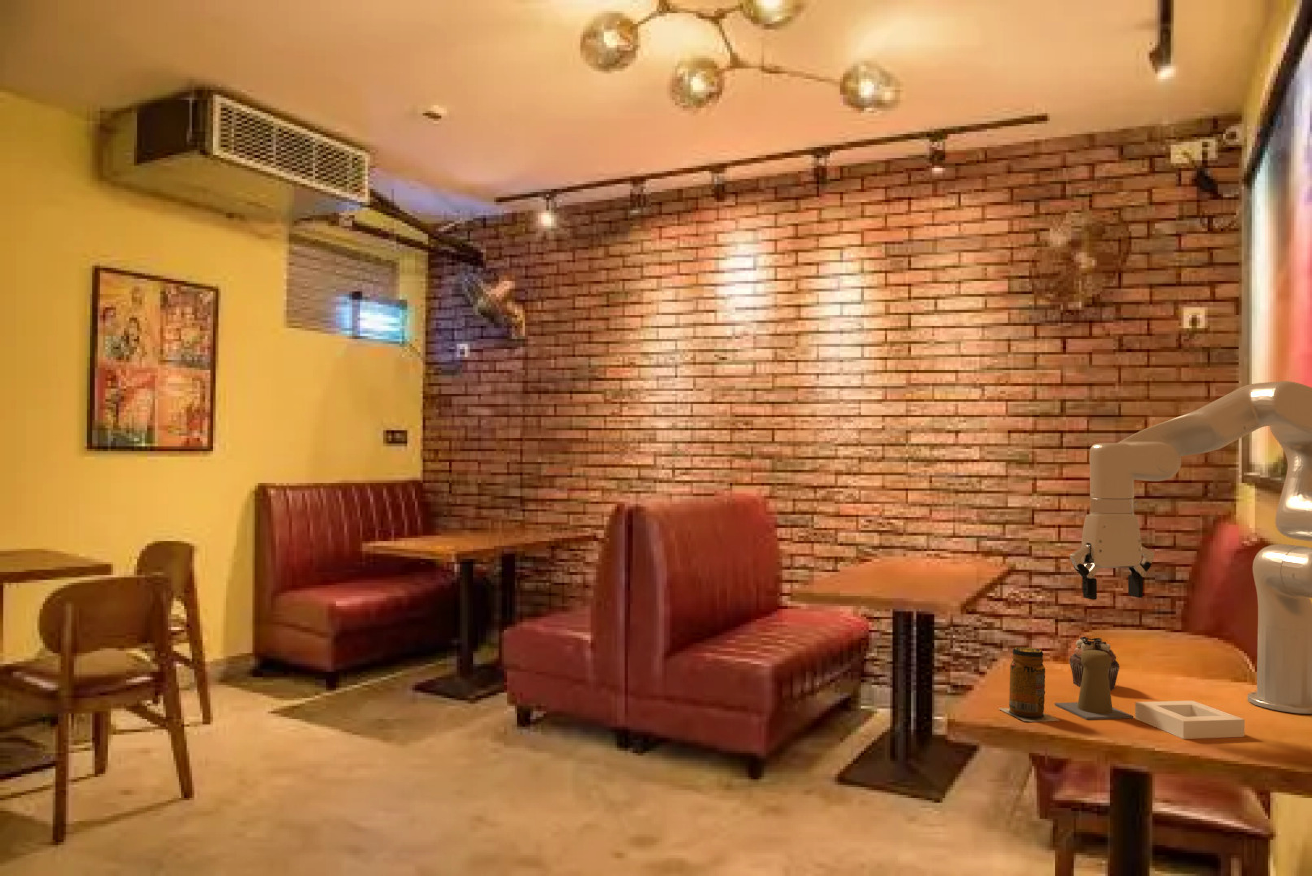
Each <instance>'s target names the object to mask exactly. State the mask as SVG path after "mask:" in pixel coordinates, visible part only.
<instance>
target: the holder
mask: <svg viewBox="0 0 1312 876" xmlns="http://www.w3.org/2000/svg"><path fill="white" fill-rule="evenodd" d="M1134 704H1135V706H1134V718H1135V719H1136V720H1138V721H1140V722H1143V723H1145V724H1148V725H1149V726H1152V727H1154V728H1156V727H1157V729H1159V730H1162V731H1163V732H1167V733H1168V734H1171V735H1173V736H1175V737H1177V738H1180V739H1182V740H1183V739H1184V740H1188V739H1191V740H1192V739H1193V740H1194V739H1216V738H1217V739H1219V738H1221V739H1222V738H1242V737H1245V718H1242V717H1239V716H1237V715H1233V714H1230V713H1228V712H1225V711H1222V710H1220V709H1218V708H1214V707H1211V706H1210V705H1209V706H1208V705H1206V704H1205V703H1204V704H1203V703H1200V702H1197V701H1196V700H1169V701H1168V700H1167V701H1165V700H1164V701H1136V702H1135V703H1134Z"/></svg>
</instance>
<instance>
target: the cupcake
mask: <svg viewBox="0 0 1312 876" xmlns="http://www.w3.org/2000/svg"><path fill="white" fill-rule="evenodd" d="M1075 645H1076V647H1075V648H1074V649H1073V654H1072V655H1070V657H1069V659H1068V662H1069V665H1070V670H1071V675H1072V683H1073V685H1075V686H1076V685H1077V686H1076V687H1080V688H1081V682H1082V676H1083V669H1084V667H1083V665H1082V663H1081V655H1082V653H1083V652H1084V651H1086V650H1099V651H1103V652H1106V653H1107V654H1109V656H1110V658H1111V666H1110V668H1109V669H1108V677H1109V685H1110V691H1114V689H1115V686H1116V684H1117V683H1116V682H1117V680H1118V679H1117V678H1118V675H1119V670H1120V664H1119V662H1118V661H1117V656H1116V654H1115V653H1114V651H1113V650H1112V649H1111V645H1110V644H1109V643H1107V642H1106V641H1103V640H1102V638H1100V637H1096V638H1095V637H1094V638H1088V637H1087V636H1081V637H1080V638H1079V639H1078V640H1076V641H1075Z"/></svg>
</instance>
